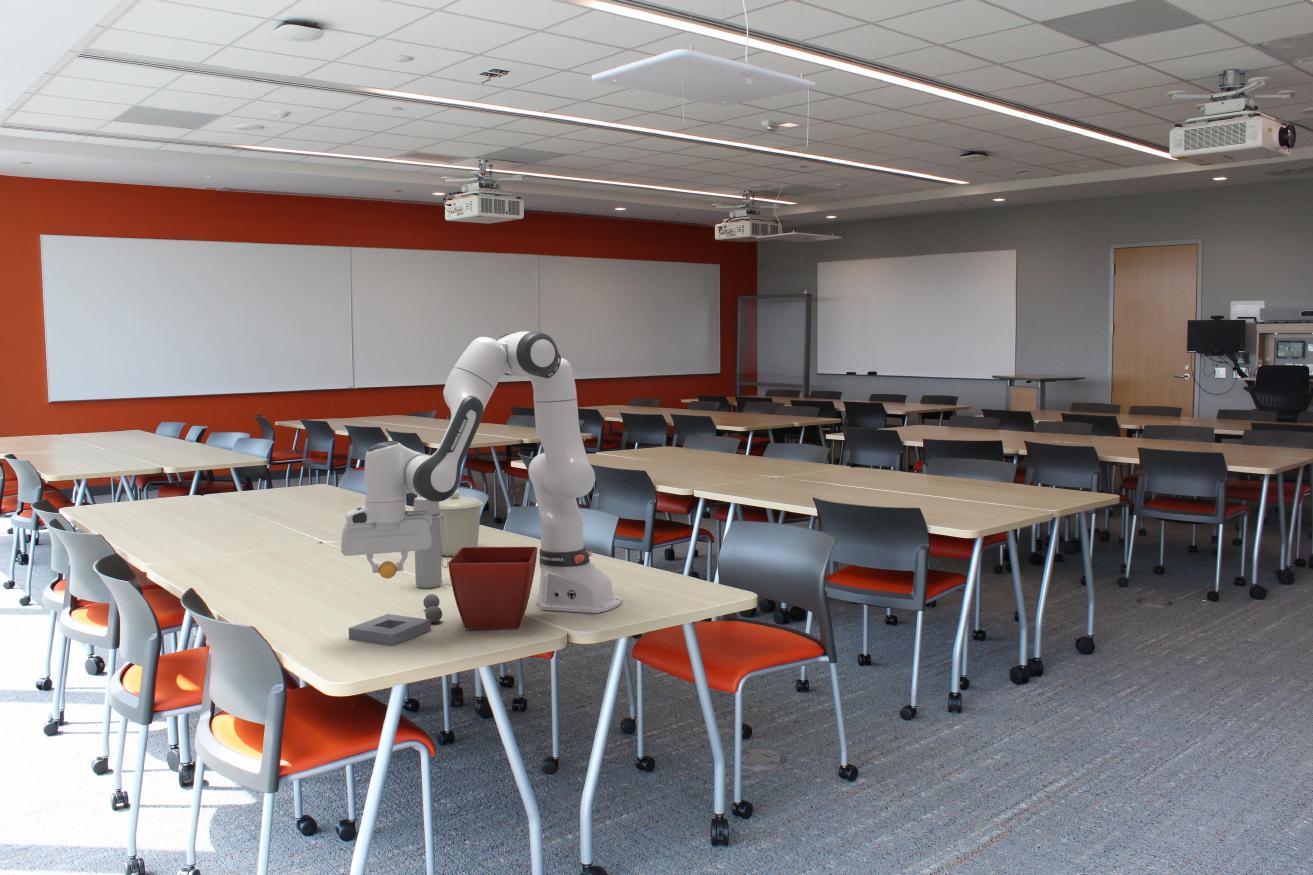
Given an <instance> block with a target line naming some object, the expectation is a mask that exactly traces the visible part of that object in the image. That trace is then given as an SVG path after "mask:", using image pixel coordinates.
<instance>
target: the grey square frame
mask: <svg viewBox="0 0 1313 875" xmlns="http://www.w3.org/2000/svg"><path fill="white" fill-rule="evenodd" d="M431 630H432V624H431V620H428V619H426V618H421V617H420V618H419V617H413V616H406V615H398V614H392V613H387V614H384V615H381V616H378V617H375V618H372V619H370V620H367V621H364V622H362V623H360V624H357V625H356V624H355V625H353V626H351V627H348V639H349V640H352V641H353V640H355V641H361V642H366V643H372V644H373V643H374V644H378V645H379V644H380V645H385V646H396V645H399V644H401V643H404V642H406V641H408V640H411V639H414V638H416V637H418V636H420V635H423V634H425V633H427V632H430V631H431Z"/></svg>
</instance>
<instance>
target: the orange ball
mask: <svg viewBox="0 0 1313 875" xmlns="http://www.w3.org/2000/svg"><path fill="white" fill-rule="evenodd" d="M396 567H397V566H396V563H394V562H392V561H390V560H386V561H383V562H382V563H380V564H379V575H380V576H381V577H382V578H383V579H387V580H388V579H392V578H393V577H395V576H396V574H397V572H398V571H397V568H396Z"/></svg>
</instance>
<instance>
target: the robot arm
mask: <svg viewBox="0 0 1313 875" xmlns="http://www.w3.org/2000/svg"><path fill="white" fill-rule="evenodd" d="M504 375H505V376H510V377H511V376H513V377H514V376H516V377H528V379H529V380H530V382H531V384H532V389H533V390H532V391H533V407H534V420H535V432H536V434H537V437H539V438H538V439H539V440H540V442H541V447H542V450H543V452H542V453H539V454H537V455H536V456H534V457H533V458H532V460H531V461H530V463H529V465H528V471H527V473H528V477H529V480H530V482H531V484H532V486H533V490H534V495H535V499H536V500H535V501H536V506H537V510H538V514H539V521H540V548H539V566H540V567H539V568H540V578H539V579H540V580H539V585H538V593H537V597H536V600H535V604H537V605H539V607H540V609H541V610H543V611H554V612H571V613H572V612H573V613H590V614H599V613H603V612H607V611H610V610H613V609H615V608H617V607H619V606H620V605H621V604H622V603H623V602H622V601H623V600H622V597H621V596H620V595H619V596H618V595H614V590H613V585H612V581H611V579H610V578H609V577H608V576H607V575H605V574H604V573H603V572H602V571H601V570H599V569H598V568H597V567H596V566H595V565H594V564H592V563H591V560H590V557H591V556H593V550H591V551H588V550H587V549H586V547H585V546H584V518H583V515H582V513H581V511H580V508H579V505H578V502H577V498H583V497H584V496H586V495H588V494H589V493H590V492H591V491H592V489H593V488H594V485H595V482H596V473H595V471H594V468H593V467H592V465H591V463H590V462H589V459H588V456H587V453H586V449H585V445H584V441H583V438H582V435H581V430H580V423H579V422H580V420H579V410H578V409H579V407H578V396H577V393H578V392H577V387H576V381H575V377H574V371H573V369H572V365H571V363H570V361H568V360H567V359H566V358H563V357H562V356H561V354H560V352H559V349H558V346H557V343H556V342H555V341H554V339H553V338H552V337H551V336H550V335H548V334H546V333H544V332H541V331H536V330H535V331H526V330H524V331H517V332H513V333H506V334H504V335H501V336H499V337H497V338H496V339H495V338H492V337H487V336H479V337H477V338H475V339H473V340H472V341H471V343H470V344H469V345H468V346H467V347H466V349H465V350H464V351H463V352H462V354H461V355H460V357H459V358H458V359H457V362H456V363H455V365H454V367H453V368H452V370H451V371H450V373H449V375H448V377H447V379H446V381H445V385H444V388H443V391H442V393H443V399H444V401H445V404H446V406H447V407H448V408H449V410H450V422H449V424H448V425H447V426H448V427H447V429H446V430H445V433H444V434H443V437H442V439H441V441H440V443H439V445H438V448H437V450H436V451H435V452H434V453H433V454H431V455H430V454H427V453H422V452H419V451H416V450H413V449H411V448H409V447H407V446H405V445H404V444H402V443H400V442H399V441H396V440H389V441H384V442H378V443H376V444H373V445H371V446H370V447H368V449H367V450H366V453H365V459H364V485H365V487H366V494H365V499H364V500H365V502H364V503H365V504H364V505H362V506H359V507H356V508H354V509H351V510H349V511H347V512H346V514H345V521H346V523H344V525H343V528H342V531H341V540H340V551H341V552H340V553H341V554H342V555H343V556H345V557H348V556H361V555H363V556H364V555H366V559H367V561H368V563H369V564H370V566H371V569H372V570H371V572H372V574H377V573H379V567H380V564H379V563H375V562H374V560H373V559H374V555H377V554H378V555H379V554H388V553H389V554H391V553H400V556H402V557H401V558H400V561H398V562H396V563H395V565H396V568H397V571H396V572H402V571H404V564H405V562H406V560H407V558H408V552H415V551H420V550H429V549H430V548H431V546H432V539H431V532H430V528H431V526H432V516H431V514H430V513H428V512H425V510H420V511H414V510H406V509H407V508H406V495H407V494H414V495H417V496H418V497H423V498H425V499H427V500H429V501H433V502H440V501H444V500H446V499H448V498H449V497H451V496H452V495H453V494H454V493H455V491H456V490H458V488H459V486H460V481H461V474H462V467H463V463H464V460H465V458H466V456H467V453H468V451H469V449H470V448H471V447H470V446H471V445H472V443H473V440H474V438H475V436H476V433H477V431H478V429H479V426H480V424H481V422H482V419H483V415H484V412H485V409H486V406H487V404H488V402H489V401H490V398H491V397H492V395H493V393H494V391H495V390H496V387H497V385H498V384H499V381H500V380H501V378H502V377H504ZM425 514H428V515H425Z"/></svg>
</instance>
